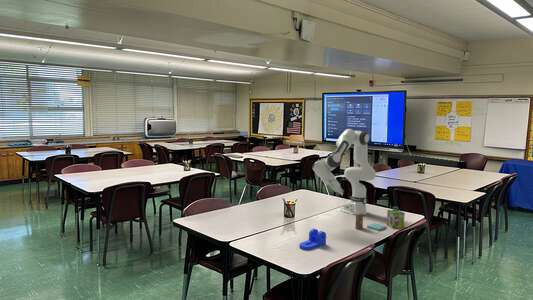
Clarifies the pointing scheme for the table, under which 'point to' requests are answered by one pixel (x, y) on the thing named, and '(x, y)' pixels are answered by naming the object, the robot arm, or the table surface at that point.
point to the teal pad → (376, 226)
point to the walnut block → (359, 220)
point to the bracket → (314, 240)
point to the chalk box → (395, 218)
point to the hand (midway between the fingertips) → (342, 193)
